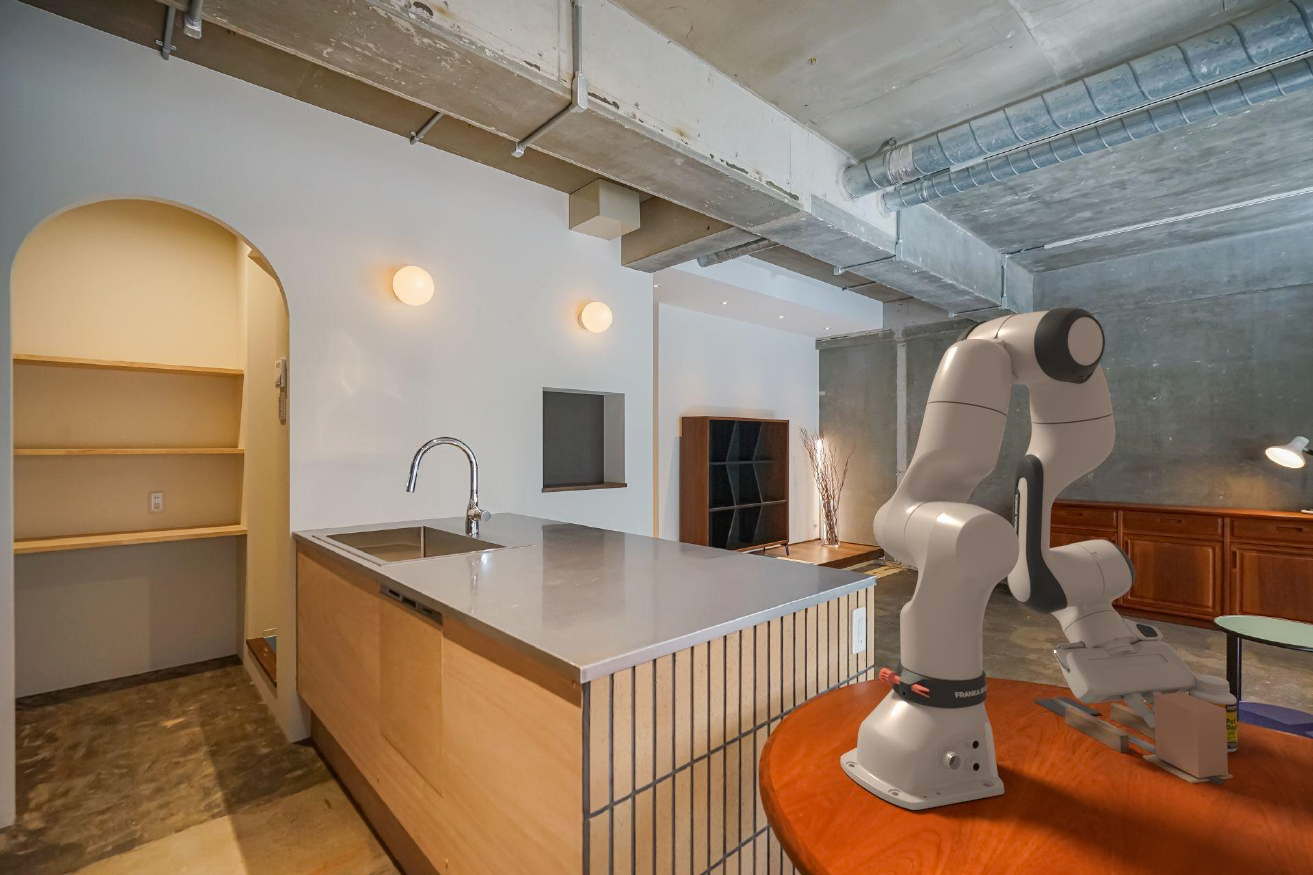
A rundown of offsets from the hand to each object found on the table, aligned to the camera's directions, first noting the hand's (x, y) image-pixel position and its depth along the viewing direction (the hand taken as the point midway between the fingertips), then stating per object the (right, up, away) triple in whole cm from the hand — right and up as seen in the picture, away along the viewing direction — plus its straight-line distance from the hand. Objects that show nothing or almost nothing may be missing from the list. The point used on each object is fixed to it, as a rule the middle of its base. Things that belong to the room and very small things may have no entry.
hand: (1162, 725), depth 91 cm
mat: (+1, -4, -3) cm, 6 cm away
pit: (-3, -5, +17) cm, 18 cm away
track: (-1, -5, +7) cm, 9 cm away
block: (+1, -4, -4) cm, 6 cm away
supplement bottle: (+11, -5, +3) cm, 12 cm away
